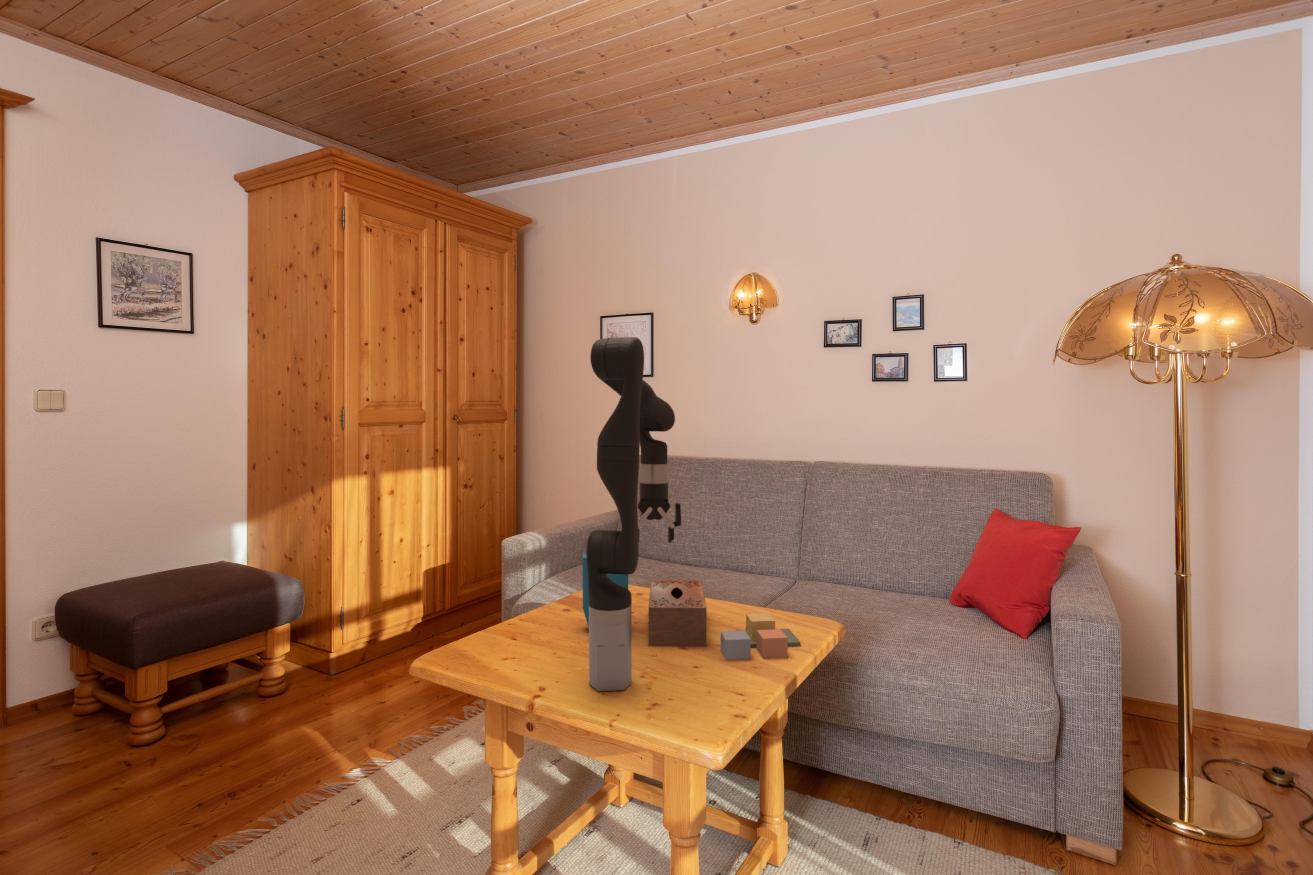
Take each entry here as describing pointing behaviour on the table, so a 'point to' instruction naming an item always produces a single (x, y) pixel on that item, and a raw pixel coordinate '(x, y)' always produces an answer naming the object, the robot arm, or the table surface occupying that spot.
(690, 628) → the tissue box cover
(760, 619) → the ochre block
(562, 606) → the table surface
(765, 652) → the terracotta block
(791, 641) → the felt mat
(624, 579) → the block
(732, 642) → the slate block
